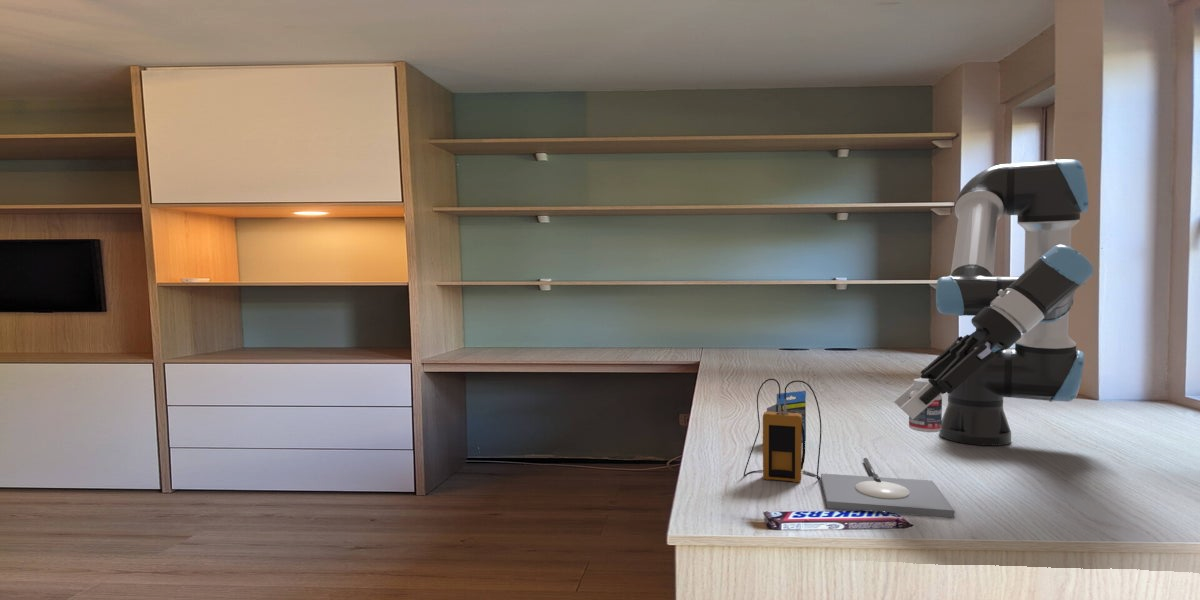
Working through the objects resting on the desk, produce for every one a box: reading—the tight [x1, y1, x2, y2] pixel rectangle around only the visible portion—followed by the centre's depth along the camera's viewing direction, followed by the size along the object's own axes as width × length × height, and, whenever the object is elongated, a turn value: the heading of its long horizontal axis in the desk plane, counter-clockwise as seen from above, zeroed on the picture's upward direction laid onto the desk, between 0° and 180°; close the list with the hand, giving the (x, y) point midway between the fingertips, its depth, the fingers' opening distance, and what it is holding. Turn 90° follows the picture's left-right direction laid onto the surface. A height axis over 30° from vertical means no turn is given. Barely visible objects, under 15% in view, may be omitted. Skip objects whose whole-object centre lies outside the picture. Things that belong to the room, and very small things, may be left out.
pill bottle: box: [908, 377, 943, 433], centre depth 120 cm, size 5×5×9 cm
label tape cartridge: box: [766, 390, 807, 443], centre depth 159 cm, size 9×4×12 cm, turn 114°
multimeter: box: [743, 378, 822, 483], centre depth 134 cm, size 15×10×20 cm
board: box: [820, 457, 956, 519], centre depth 128 cm, size 30×20×2 cm, turn 166°
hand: (902, 409), depth 121 cm, fingers closed on pill bottle, 5 cm apart
